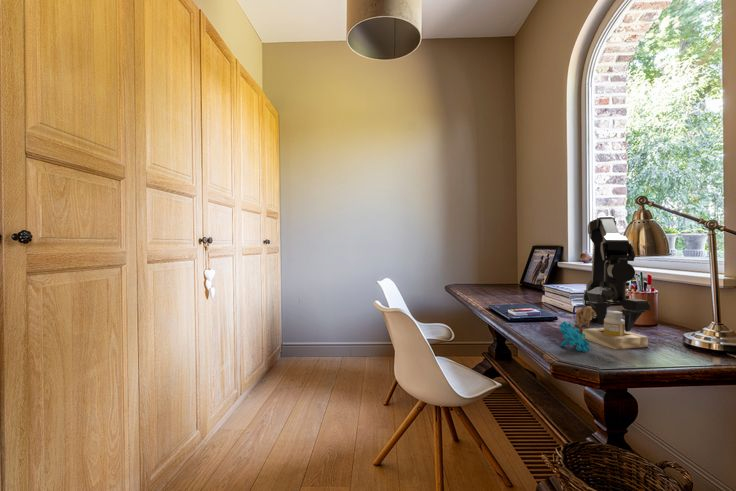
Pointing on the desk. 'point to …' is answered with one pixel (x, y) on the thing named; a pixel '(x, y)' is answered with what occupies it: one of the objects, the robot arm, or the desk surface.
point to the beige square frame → (616, 339)
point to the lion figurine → (584, 316)
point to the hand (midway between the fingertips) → (613, 327)
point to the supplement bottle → (614, 323)
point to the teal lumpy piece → (573, 337)
